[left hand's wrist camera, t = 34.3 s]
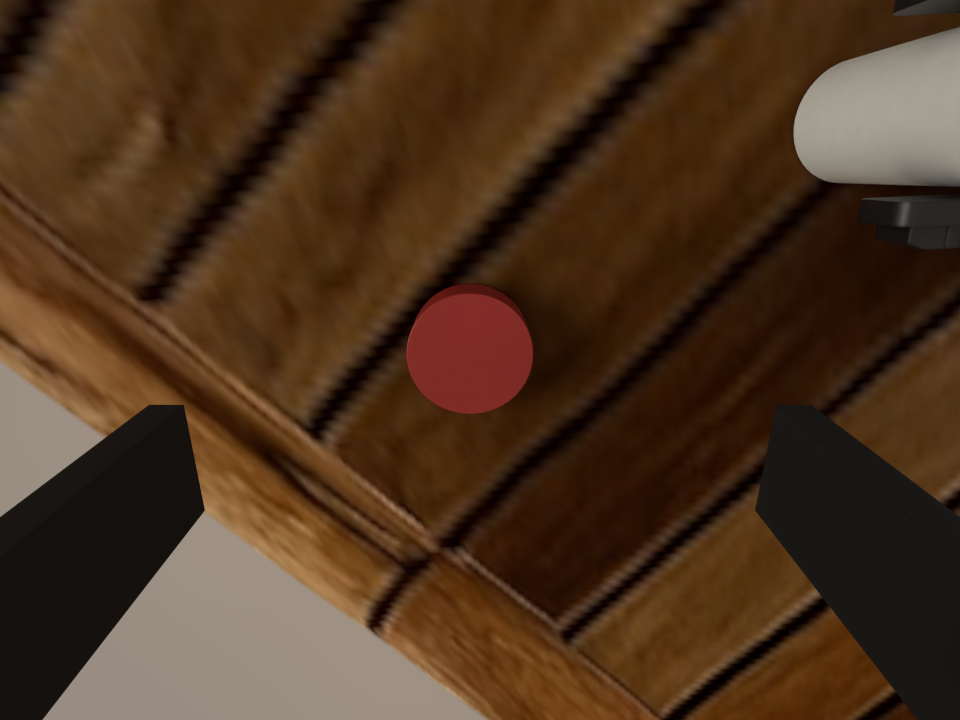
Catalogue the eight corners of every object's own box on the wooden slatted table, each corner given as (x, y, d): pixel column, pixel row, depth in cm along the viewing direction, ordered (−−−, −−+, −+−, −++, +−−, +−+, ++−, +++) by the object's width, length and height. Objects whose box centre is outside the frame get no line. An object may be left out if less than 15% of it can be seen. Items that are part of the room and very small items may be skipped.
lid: (552, 347, 24) (559, 363, 22) (463, 416, 25) (462, 437, 23) (477, 258, 23) (477, 266, 21) (387, 334, 24) (380, 348, 22)
